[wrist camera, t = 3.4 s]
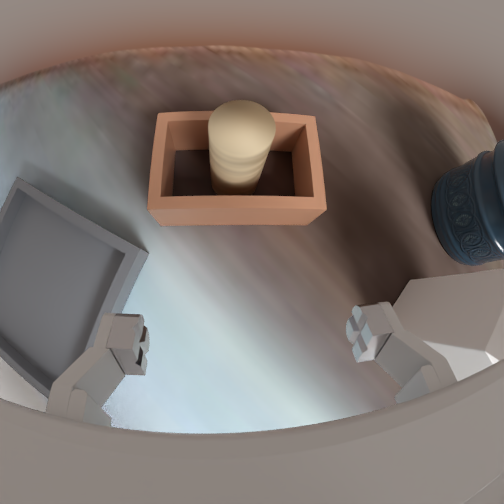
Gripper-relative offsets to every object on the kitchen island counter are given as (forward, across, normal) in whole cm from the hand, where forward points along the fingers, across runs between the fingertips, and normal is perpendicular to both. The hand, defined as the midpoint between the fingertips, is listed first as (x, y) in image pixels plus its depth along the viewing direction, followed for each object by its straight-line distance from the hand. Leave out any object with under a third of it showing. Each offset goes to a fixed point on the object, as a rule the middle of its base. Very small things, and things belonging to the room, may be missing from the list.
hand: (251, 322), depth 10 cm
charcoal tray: (+12, +20, +10) cm, 25 cm away
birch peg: (+19, 0, +3) cm, 20 cm away
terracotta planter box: (+19, 0, +3) cm, 20 cm away
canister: (+17, -30, +5) cm, 35 cm away
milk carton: (+9, -19, +14) cm, 25 cm away
